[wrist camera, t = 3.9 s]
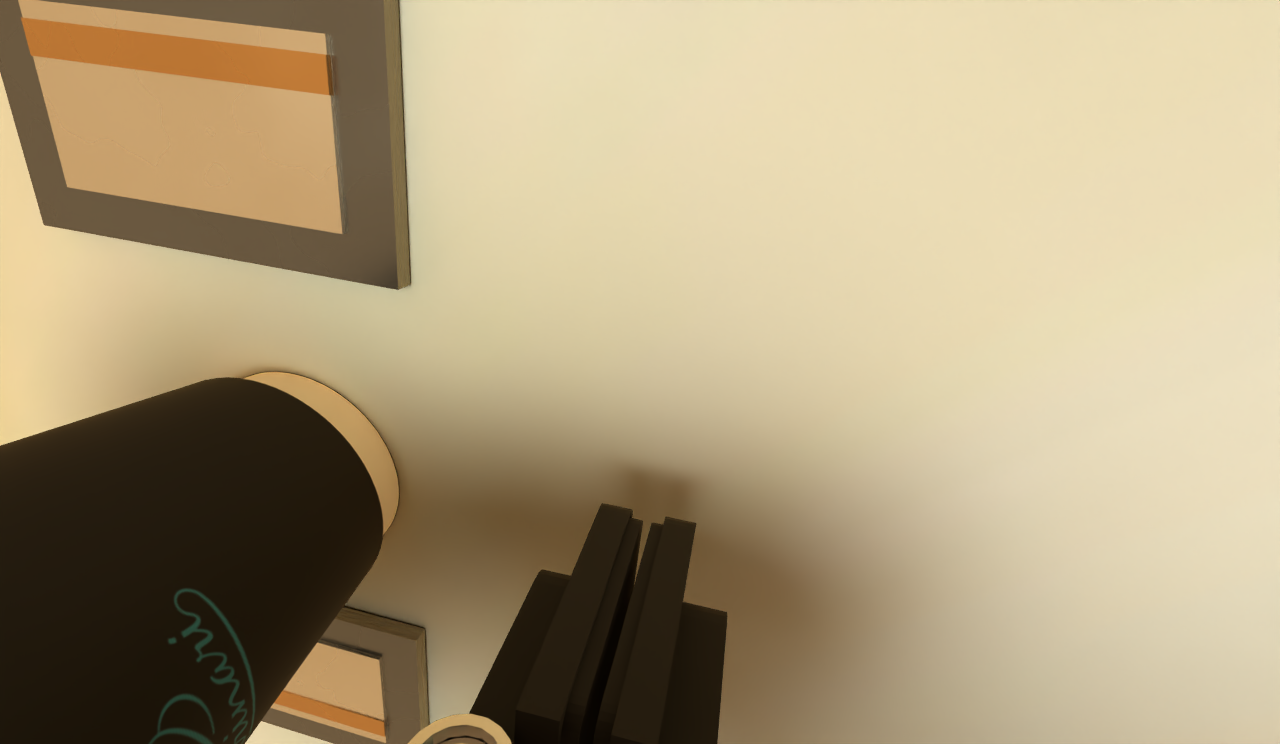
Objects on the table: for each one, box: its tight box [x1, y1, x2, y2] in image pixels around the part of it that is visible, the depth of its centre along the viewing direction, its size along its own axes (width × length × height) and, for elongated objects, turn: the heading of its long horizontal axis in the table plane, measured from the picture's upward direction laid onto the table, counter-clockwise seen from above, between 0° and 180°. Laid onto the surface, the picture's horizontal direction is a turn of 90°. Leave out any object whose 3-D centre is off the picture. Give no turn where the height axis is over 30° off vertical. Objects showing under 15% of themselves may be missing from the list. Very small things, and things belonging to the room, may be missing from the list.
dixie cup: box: [0, 372, 399, 744], centre depth 9 cm, size 8×8×11 cm
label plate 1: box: [0, 0, 410, 290], centre depth 11 cm, size 8×5×1 cm, turn 83°
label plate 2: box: [261, 607, 429, 744], centre depth 17 cm, size 8×5×1 cm, turn 83°
